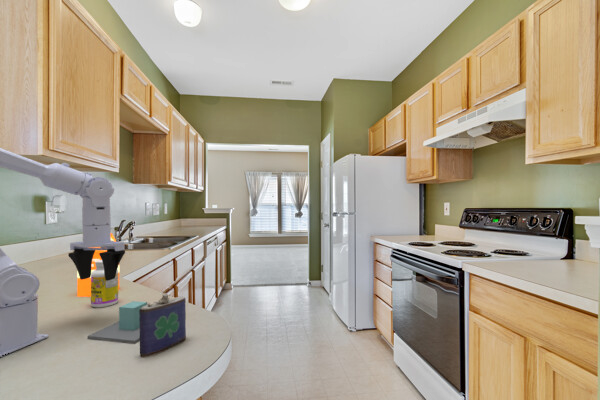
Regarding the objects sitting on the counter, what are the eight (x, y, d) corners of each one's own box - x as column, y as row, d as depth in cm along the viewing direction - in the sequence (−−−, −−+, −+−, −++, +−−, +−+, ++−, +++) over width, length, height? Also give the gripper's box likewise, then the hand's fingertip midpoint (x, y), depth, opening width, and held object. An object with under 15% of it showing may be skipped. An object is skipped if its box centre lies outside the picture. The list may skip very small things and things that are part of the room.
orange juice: (103, 296, 89) (103, 234, 90) (76, 296, 89) (77, 234, 90) (119, 289, 97) (120, 232, 97) (95, 289, 97) (95, 232, 98)
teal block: (134, 330, 62) (134, 308, 62) (119, 329, 63) (119, 307, 63) (147, 323, 66) (147, 302, 66) (132, 322, 67) (133, 301, 67)
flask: (181, 336, 61) (181, 286, 61) (189, 340, 59) (189, 289, 59) (136, 355, 53) (136, 298, 53) (144, 359, 51) (144, 301, 52)
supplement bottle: (86, 306, 80) (86, 261, 81) (110, 299, 86) (110, 257, 87) (98, 309, 77) (98, 263, 78) (123, 302, 83) (123, 259, 84)
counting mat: (134, 343, 57) (134, 340, 57) (87, 338, 60) (87, 335, 60) (172, 320, 69) (172, 318, 69) (131, 317, 72) (131, 314, 72)
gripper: (133, 223, 72) (134, 275, 72) (88, 224, 75) (89, 274, 75) (110, 225, 66) (111, 283, 65) (61, 226, 69) (62, 281, 68)
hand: (97, 279), depth 70 cm, fingers open, 7 cm apart
